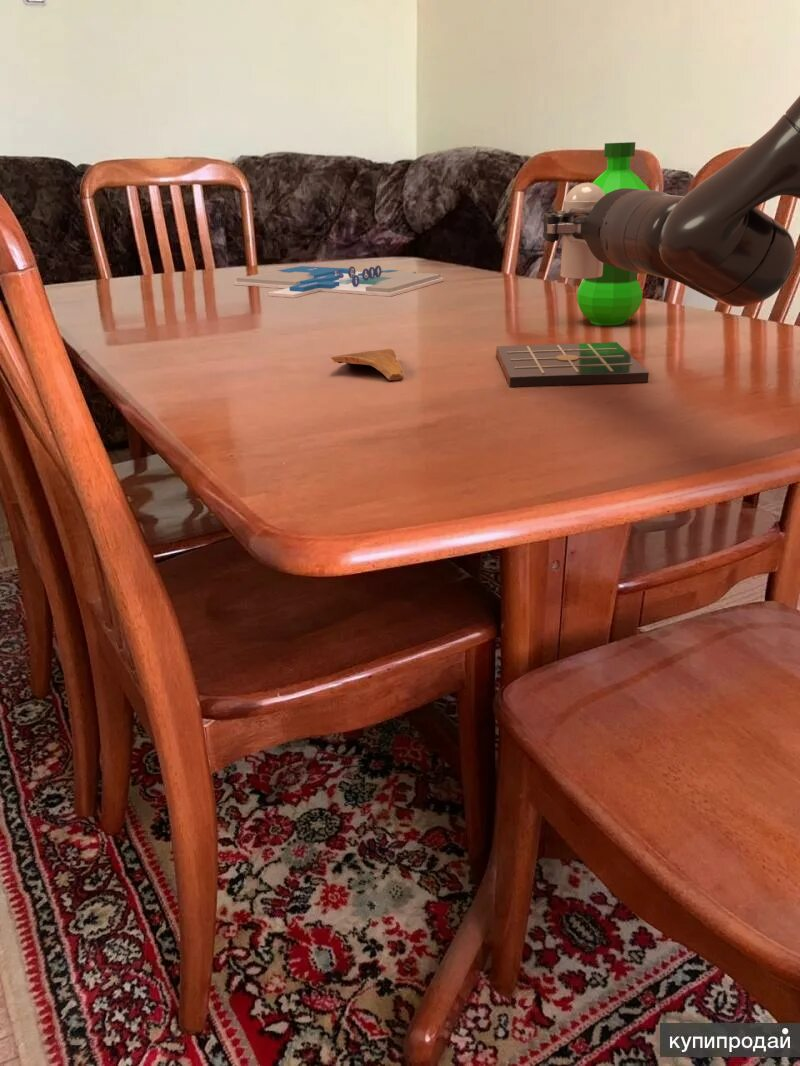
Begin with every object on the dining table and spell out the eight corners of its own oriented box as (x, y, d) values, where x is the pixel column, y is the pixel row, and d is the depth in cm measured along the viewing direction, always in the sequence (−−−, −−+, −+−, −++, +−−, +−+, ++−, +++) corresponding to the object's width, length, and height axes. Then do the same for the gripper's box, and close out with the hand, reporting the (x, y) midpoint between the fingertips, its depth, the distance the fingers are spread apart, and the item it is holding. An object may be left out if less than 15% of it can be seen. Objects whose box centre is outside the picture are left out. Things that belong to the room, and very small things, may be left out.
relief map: (366, 303, 149) (365, 283, 148) (206, 290, 169) (204, 272, 168) (449, 279, 172) (449, 261, 170) (299, 270, 192) (298, 254, 190)
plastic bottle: (636, 315, 131) (650, 141, 121) (645, 328, 122) (662, 141, 111) (571, 315, 132) (580, 143, 122) (576, 329, 123) (586, 144, 112)
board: (616, 351, 110) (617, 341, 110) (648, 382, 96) (649, 371, 95) (496, 354, 110) (496, 345, 110) (509, 387, 96) (510, 375, 95)
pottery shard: (401, 382, 100) (400, 362, 99) (326, 381, 101) (325, 361, 100) (413, 361, 109) (413, 342, 108) (345, 360, 110) (344, 341, 109)
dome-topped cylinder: (597, 272, 98) (603, 181, 94) (606, 277, 94) (613, 182, 90) (557, 273, 98) (561, 182, 94) (564, 279, 94) (568, 184, 90)
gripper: (711, 186, 80) (636, 181, 95) (570, 193, 78) (516, 187, 93) (702, 266, 83) (630, 249, 99) (566, 275, 81) (515, 256, 97)
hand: (575, 219), depth 96 cm, fingers closed on dome-topped cylinder, 5 cm apart
